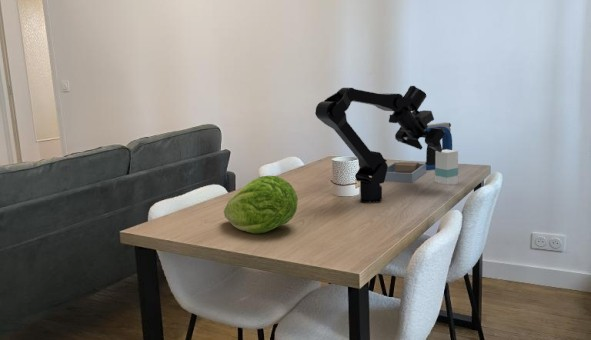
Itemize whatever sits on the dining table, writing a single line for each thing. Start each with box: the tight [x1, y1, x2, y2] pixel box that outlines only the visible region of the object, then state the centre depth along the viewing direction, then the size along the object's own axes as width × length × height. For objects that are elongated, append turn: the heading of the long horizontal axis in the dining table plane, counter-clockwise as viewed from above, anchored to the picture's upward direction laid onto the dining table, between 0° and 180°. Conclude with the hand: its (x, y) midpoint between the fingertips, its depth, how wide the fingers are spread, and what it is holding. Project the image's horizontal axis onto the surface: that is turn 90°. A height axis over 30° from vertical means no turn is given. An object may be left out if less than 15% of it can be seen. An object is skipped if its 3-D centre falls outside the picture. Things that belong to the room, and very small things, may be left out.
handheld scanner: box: [424, 121, 453, 171], centre depth 208 cm, size 4×16×19 cm, turn 115°
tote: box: [384, 161, 427, 184], centre depth 197 cm, size 20×13×4 cm, turn 151°
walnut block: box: [395, 161, 420, 173], centre depth 201 cm, size 6×8×4 cm
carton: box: [434, 149, 459, 186], centre depth 183 cm, size 6×6×12 cm
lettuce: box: [223, 175, 299, 234], centre depth 142 cm, size 15×25×16 cm
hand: (431, 150), depth 177 cm, fingers open, 9 cm apart
